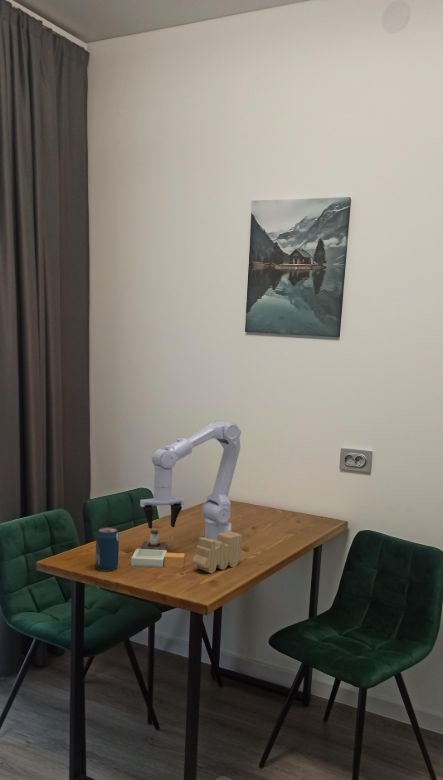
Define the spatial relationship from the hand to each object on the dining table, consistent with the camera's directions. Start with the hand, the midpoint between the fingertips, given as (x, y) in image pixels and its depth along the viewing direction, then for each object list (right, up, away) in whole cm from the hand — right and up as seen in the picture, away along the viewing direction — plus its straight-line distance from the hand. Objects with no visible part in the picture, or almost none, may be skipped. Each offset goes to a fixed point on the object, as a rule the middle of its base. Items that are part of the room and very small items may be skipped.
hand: (161, 527), depth 211 cm
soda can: (-16, -10, -13) cm, 23 cm away
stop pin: (-3, -9, +5) cm, 11 cm away
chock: (+5, -11, -8) cm, 14 cm away
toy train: (+18, -11, -8) cm, 23 cm away
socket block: (-3, -9, +5) cm, 11 cm away
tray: (-3, -10, -5) cm, 12 cm away
